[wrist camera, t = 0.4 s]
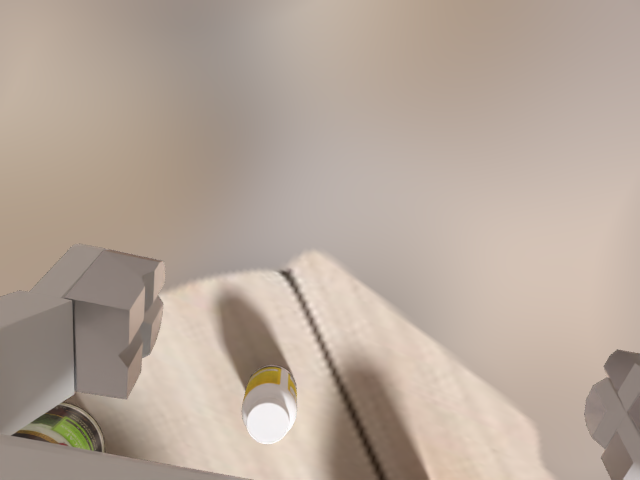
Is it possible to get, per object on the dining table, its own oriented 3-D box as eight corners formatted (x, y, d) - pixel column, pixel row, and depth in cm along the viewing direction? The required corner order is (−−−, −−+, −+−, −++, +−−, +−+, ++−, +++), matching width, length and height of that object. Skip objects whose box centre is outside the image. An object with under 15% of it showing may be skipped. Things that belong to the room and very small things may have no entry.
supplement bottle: (237, 394, 62) (226, 430, 52) (265, 354, 62) (260, 382, 52) (277, 422, 62) (274, 462, 52) (306, 382, 62) (309, 415, 52)
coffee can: (66, 382, 61) (-3, 435, 47) (124, 457, 62) (74, 532, 47) (-13, 437, 61) (-105, 507, 47) (46, 512, 61) (-27, 603, 47)
